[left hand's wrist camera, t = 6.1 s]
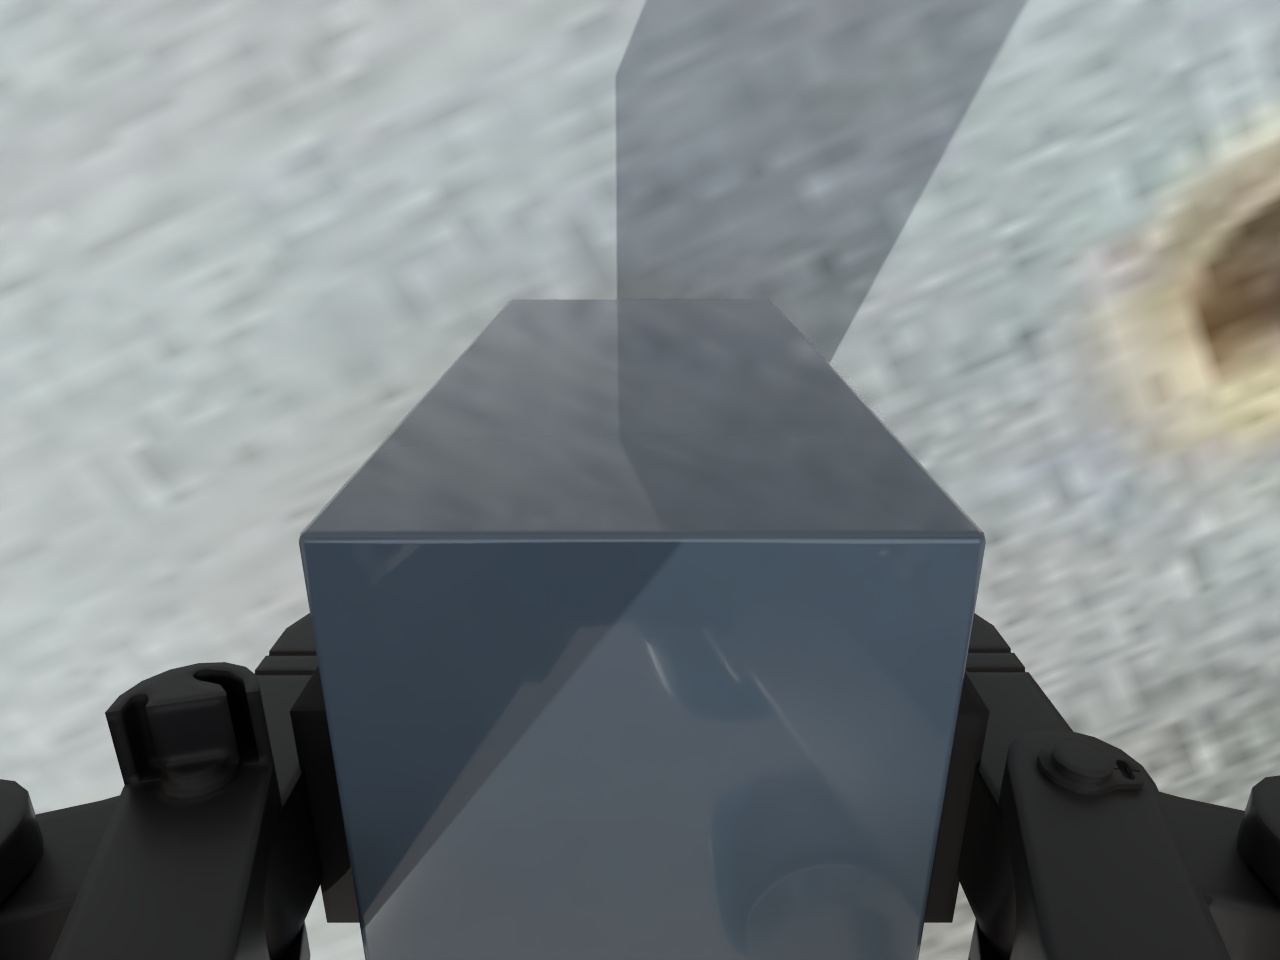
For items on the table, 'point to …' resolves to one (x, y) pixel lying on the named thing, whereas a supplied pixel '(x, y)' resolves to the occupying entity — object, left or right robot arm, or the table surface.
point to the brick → (641, 649)
